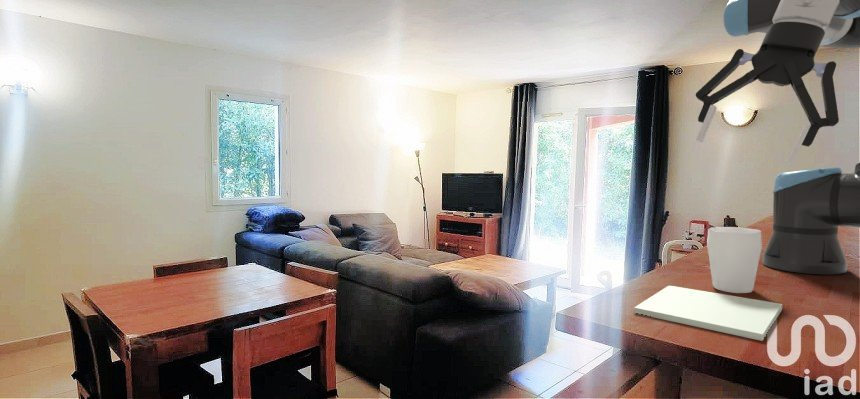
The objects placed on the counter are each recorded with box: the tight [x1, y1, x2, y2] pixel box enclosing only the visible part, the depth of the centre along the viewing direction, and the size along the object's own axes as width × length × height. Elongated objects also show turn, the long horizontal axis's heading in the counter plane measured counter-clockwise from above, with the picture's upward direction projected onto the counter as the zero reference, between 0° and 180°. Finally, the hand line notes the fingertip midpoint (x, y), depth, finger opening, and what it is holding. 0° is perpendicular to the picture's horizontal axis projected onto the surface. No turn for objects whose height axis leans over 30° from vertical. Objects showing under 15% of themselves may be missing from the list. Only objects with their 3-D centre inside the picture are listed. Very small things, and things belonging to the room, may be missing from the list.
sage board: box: [633, 285, 783, 342], centre depth 76 cm, size 18×18×1 cm
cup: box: [706, 226, 763, 294], centre depth 88 cm, size 9×9×12 cm
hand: (741, 152), depth 76 cm, fingers open, 13 cm apart
